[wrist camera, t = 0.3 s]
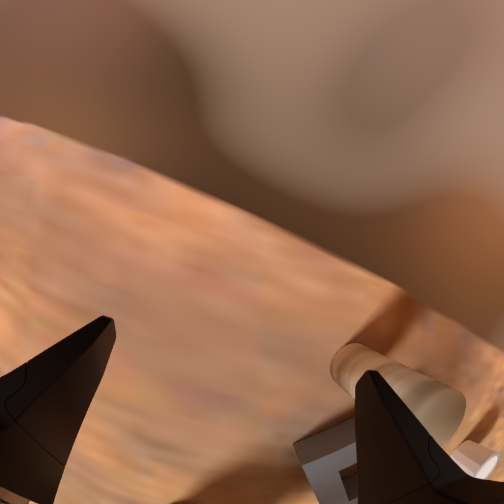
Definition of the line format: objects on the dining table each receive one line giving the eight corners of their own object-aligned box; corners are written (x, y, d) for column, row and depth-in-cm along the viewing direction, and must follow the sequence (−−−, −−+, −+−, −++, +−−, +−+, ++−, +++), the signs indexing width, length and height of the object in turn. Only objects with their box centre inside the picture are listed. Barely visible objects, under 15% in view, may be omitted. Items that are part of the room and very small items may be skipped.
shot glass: (457, 470, 24) (480, 487, 17) (436, 473, 23) (460, 493, 16) (479, 436, 24) (505, 450, 17) (460, 436, 24) (489, 453, 17)
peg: (375, 372, 24) (465, 427, 10) (337, 392, 23) (411, 468, 10) (365, 335, 24) (465, 375, 11) (324, 355, 24) (406, 420, 10)
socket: (405, 459, 23) (421, 473, 19) (320, 502, 22) (328, 522, 18) (396, 392, 24) (416, 406, 20) (292, 443, 23) (301, 465, 19)
